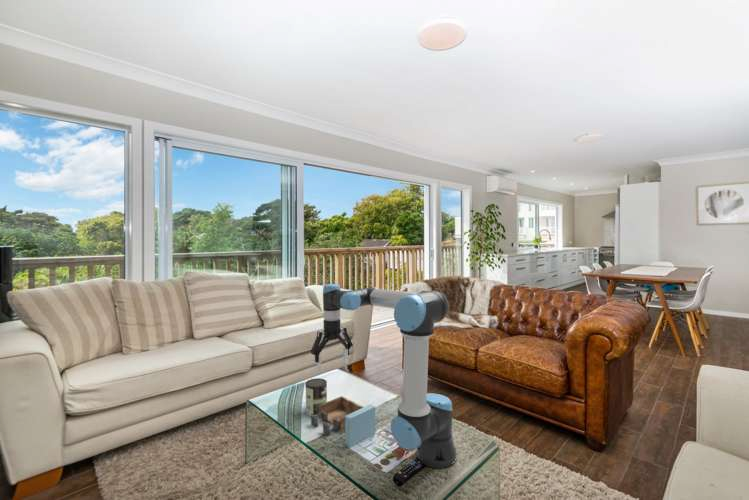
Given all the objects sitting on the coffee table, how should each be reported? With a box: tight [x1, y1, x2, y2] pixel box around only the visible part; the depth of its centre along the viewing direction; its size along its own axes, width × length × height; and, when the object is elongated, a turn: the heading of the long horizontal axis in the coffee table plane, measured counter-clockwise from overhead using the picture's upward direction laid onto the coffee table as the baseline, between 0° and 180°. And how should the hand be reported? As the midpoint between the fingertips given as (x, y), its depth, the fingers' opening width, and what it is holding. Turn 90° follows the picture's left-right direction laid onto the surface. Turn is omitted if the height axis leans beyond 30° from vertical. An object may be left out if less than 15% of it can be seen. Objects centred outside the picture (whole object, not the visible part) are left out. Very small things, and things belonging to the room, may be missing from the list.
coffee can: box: [304, 378, 328, 417], centre depth 176 cm, size 10×10×14 cm
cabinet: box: [310, 395, 365, 436], centre depth 165 cm, size 17×20×6 cm
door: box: [344, 404, 376, 448], centre depth 151 cm, size 14×3×12 cm, turn 134°
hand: (332, 365), depth 163 cm, fingers open, 13 cm apart
